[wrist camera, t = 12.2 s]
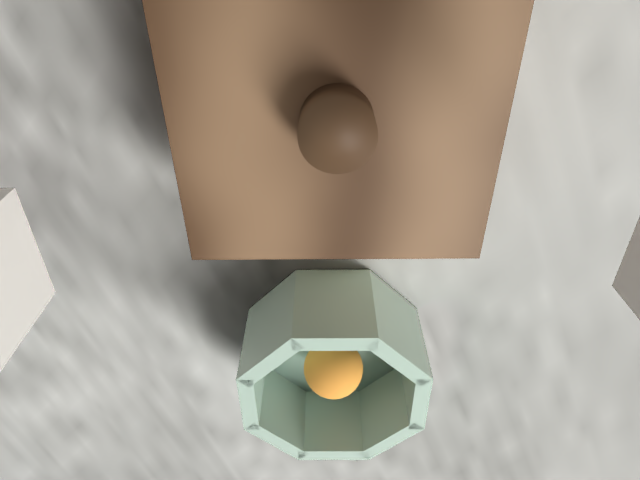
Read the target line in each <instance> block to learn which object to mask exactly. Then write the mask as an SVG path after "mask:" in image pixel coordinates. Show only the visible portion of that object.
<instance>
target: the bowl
mask: <svg viewBox="0 0 640 480" xmlns="http://www.w3.org/2000/svg"><path fill="white" fill-rule="evenodd" d="M309 351H358V353H359V354H360V356H361V359H362V363H363V375H362V379H361V381H360V383H359V385H358V387H357V388H356V389H355V390H354V391H353V392H352V393H351V394H350V395H348V396H346V397H344V398H341V399H327V398H323V397H321V396H319V395H318V394H316V393H315V392H314V391H313V390H312V389H311V388H310V387H309V385H308V383H307V381H306V379H305V375H304V362H305V358H306V356H307V354H308V352H309ZM236 382H237V388H238V395H239V401H240V407H241V414H242V420H243V426H244V430H246V431H247V432H249V433H251V434H253V435H255V436H256V437H258V438H260V439H262V440H263V441H265V442H267V443H269V444H271V445H272V446H274V447H276V448H278V449H280V450H281V451H283V452H285V453H287V454H289V455H290V456H292V457H294V458H296V459H298V460H370V459H371V458H373V457H375V456H377V455H379V454H380V453H382V452H384V451H386V450H388V449H389V448H391V447H393V446H395V445H397V444H399V443H400V442H402V441H404V440H406V439H408V438H409V437H411V436H413V435H415V434H417V433H418V432H420V431H422V430H424V428H425V422H426V417H427V411H428V406H429V400H430V394H431V389H432V383H433V376H432V372H431V368H430V363H429V359H428V355H427V350H426V346H425V342H424V338H423V333H422V329H421V325H420V320H419V316H418V312H417V308H416V307H414V306H413V305H412V304H411V303H410V302H408V301H407V300H406V299H405V298H404V297H402V296H401V295H400V294H399V293H398V292H396V291H395V290H394V289H393V288H391V287H390V286H389V285H388V284H387V283H385V282H384V281H383V280H382V279H381V278H379V277H378V276H377V275H376V274H375V273H373V272H372V271H371V270H295V271H294V272H293V273H292V274H291V275H289V276H288V277H287V278H286V279H285V280H283V281H282V282H281V283H280V284H279V285H277V286H276V287H275V288H274V289H273V290H271V291H270V292H269V293H268V294H267V295H265V296H264V297H263V298H262V299H261V300H259V301H258V302H257V303H256V304H254V305H253V306H252V307H251V308H250V309H249V312H248V317H247V323H246V328H245V334H244V339H243V345H242V350H241V356H240V361H239V367H238V372H237V378H236Z"/></svg>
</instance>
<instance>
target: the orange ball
mask: <svg viewBox="0 0 640 480" xmlns="http://www.w3.org/2000/svg"><path fill="white" fill-rule="evenodd" d="M304 375H305V379H306V381H307V383H308V385H309V387H310V388H311V389H312V390H313V391H314V392H315V393H316V394H318V395H319V396H321V397H323V398H327V399H341V398H344V397H346V396H348V395H350V394H351V393H352V392H353V391H354V390H355V389H356V388H357V387H358V385H359V383H360V381H361V379H362V375H363V363H362V359H361V356H360V354H359V353H358V351H309V352H308V354H307V356H306V358H305V362H304Z"/></svg>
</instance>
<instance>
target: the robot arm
mask: <svg viewBox="0 0 640 480" xmlns="http://www.w3.org/2000/svg"><path fill="white" fill-rule="evenodd" d="M612 286H613V287H614V289H615V290H616V291H617V292H618V294H619V295H620V296H621V297H622V299H623V300H624V301H625V302H626V304H627V305H628V306H629V307H630V308H631V310H632V311H633V312H634V313H635V315H636V316H637V317H638V318H639V320H640V217H639V220H638V222H637V225H636V227H635V230H634V232H633V235H632V237H631V240H630V242H629V245H628V247H627V250H626V252H625V255H624V257H623V260H622V262H621V265H620V267H619V270H618V272H617V275H616V277H615V279H614V282H613V284H612ZM55 293H56V292H55V290H54V287H53V284H52V282H51V279H50V277H49V274H48V272H47V269H46V266H45V264H44V261H43V259H42V256H41V254H40V251H39V249H38V246H37V243H36V241H35V238H34V236H33V233H32V231H31V228H30V225H29V223H28V220H27V218H26V215H25V213H24V210H23V207H22V205H21V202H20V200H19V197H18V195H17V192H16V190H15V188H0V372H1V370H2V369H3V368H4V366H5V365H6V363H7V362H8V360H9V359H10V358H11V356H12V355H13V353H14V352H15V350H16V349H17V347H18V346H19V345H20V343H21V342H22V340H23V339H24V337H25V336H26V334H27V333H28V332H29V330H30V329H31V327H32V326H33V324H34V323H35V322H36V320H37V319H38V317H39V316H40V314H41V313H42V311H43V310H44V309H45V307H46V306H47V304H48V303H49V301H50V300H51V299H52V297H53V296H54V294H55Z"/></svg>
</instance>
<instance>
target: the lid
mask: <svg viewBox="0 0 640 480" xmlns="http://www.w3.org/2000/svg"><path fill="white" fill-rule="evenodd" d="M142 3H143V8H144V14H145V19H146V24H147V29H148V34H149V39H150V45H151V50H152V55H153V60H154V65H155V70H156V76H157V81H158V86H159V91H160V96H161V101H162V107H163V112H164V117H165V122H166V127H167V132H168V138H169V143H170V148H171V153H172V158H173V164H174V169H175V174H176V179H177V184H178V189H179V195H180V200H181V205H182V210H183V215H184V220H185V226H186V231H187V236H188V241H189V246H190V251H191V257H192V260H243V259H435V258H479V257H480V253H481V248H482V243H483V239H484V234H485V229H486V224H487V220H488V215H489V210H490V206H491V201H492V196H493V192H494V187H495V182H496V178H497V173H498V168H499V163H500V159H501V154H502V149H503V145H504V140H505V135H506V131H507V126H508V121H509V117H510V112H511V107H512V102H513V98H514V93H515V88H516V84H517V79H518V74H519V70H520V65H521V60H522V56H523V51H524V46H525V42H526V37H527V32H528V27H529V23H530V18H531V13H532V9H533V4H534V0H142Z"/></svg>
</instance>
